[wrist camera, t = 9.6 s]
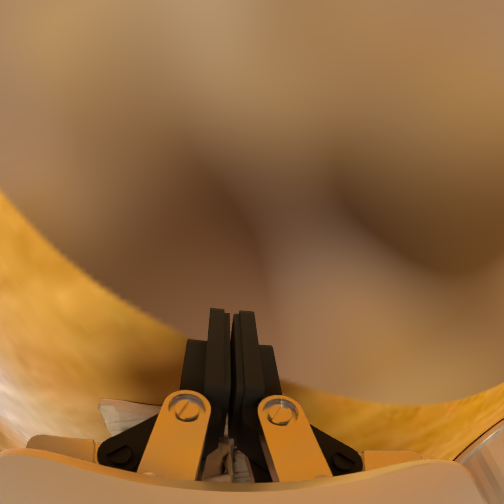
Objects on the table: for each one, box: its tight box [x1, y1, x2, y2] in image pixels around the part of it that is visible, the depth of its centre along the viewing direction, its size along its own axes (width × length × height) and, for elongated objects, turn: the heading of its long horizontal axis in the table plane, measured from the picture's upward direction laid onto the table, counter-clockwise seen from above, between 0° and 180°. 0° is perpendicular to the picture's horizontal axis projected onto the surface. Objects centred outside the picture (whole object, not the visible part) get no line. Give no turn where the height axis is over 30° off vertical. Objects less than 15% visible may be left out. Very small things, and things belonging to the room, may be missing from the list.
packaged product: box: [98, 398, 251, 483], centre depth 16 cm, size 18×5×10 cm
